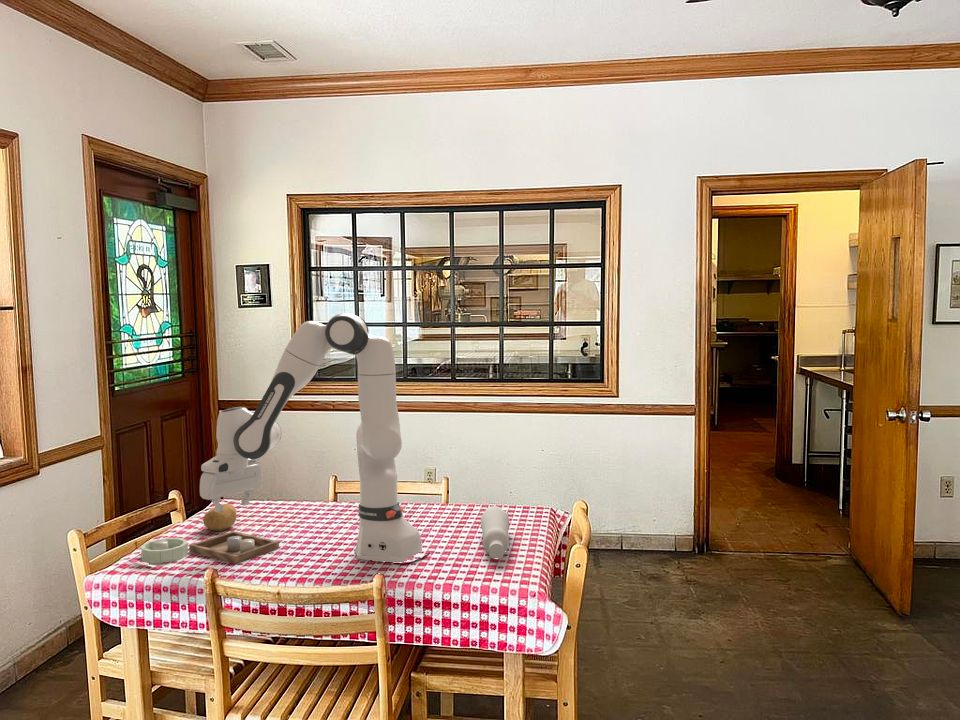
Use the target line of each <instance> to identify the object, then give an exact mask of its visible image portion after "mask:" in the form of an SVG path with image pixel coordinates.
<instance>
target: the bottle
mask: <svg viewBox="0 0 960 720" xmlns="http://www.w3.org/2000/svg"><path fill="white" fill-rule="evenodd" d="M509 518H510V517H509V515H508V513H507V511H505V510H504V509H502V508H501V507H499V506H498V505H497V506H496V505H495V506H489V507H487V508H486V509H485V511H484V512H482V515H481V517H480V528H481V532H482V548H483V551H485V552H486V551H487V552H489V554H488V555H489V557H490V558H491V559H493V558H500V559H501V558H503V557H504V555H505V553H506V552H508V550H509V548H510V538H509V528H510V519H509ZM505 551H506V552H505ZM487 552H486V553H487Z"/></svg>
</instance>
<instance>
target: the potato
mask: <svg viewBox="0 0 960 720" xmlns="http://www.w3.org/2000/svg"><path fill="white" fill-rule="evenodd" d="M221 505H222V506H223V511H222V512H219V513H218V512H215V506H214V507H213V508H211V509H209V510H208V511H207V512H206V513H205V514H204V516H203V518H202V522H203V525H204V526H205V528H207V529H208V530H211V531H212V532H221V531H225V530H228V529H229V528H231V527H233V525H234V524H235V522H236V520H237V517H238V514H237V509H236V506H234V505H233V504H231V503H221Z"/></svg>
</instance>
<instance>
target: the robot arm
mask: <svg viewBox="0 0 960 720" xmlns="http://www.w3.org/2000/svg"><path fill="white" fill-rule="evenodd" d="M369 331H370V330H369V325H368V324H367V323H366V321H365V320H364V319H363V318H362V317H360V316H358V315H356V314H354V313H351V312H344V313H338V314H336V315H334V316H332V317H331V318H330V319H329V320H328V322H327V323H326V324H323V323H321V322H318V321H315V320H307V321H305V322H303V323H302V324H300V325H299V327H298V328H297V330H296V331H295V332H294V333H293V335H292V337H290V338H291V339H290V340H289V342H288V343H287V345H286V347H285V348H284V350H283V353H282V355H281V356H280V359H279V362H278V363H277V367H276V369H275V371H274V373H273V376H272V378H271V381H270V383H269V386H268V387H267V389H266V391H265V393H264V394H263V396H262V398H261V399H260V402H259V404H258V405H257V406H256V408H255V410H254V412H251V411H250V410H249V409H248V408H247V407H244V406H236V407H234V406H233V407H230V408H226V409H223V410H221V411H220V412H219V414H218V416H217V420H216V441H217V448H216V455H215V456H213V457H212V458H210V459H209V460H207V461H205V462H204V463H202V464H201V466H200V469H201V472H202V473H201V475H200V479H199V496H200V497H201V498H202V499H203V500H207V501H209V500H210V501H211V503H212V504H213V505H214V507H215V512H218V513H219V512H222V511H223V506H222V504H220V502H221V498H223V497H227V496H232V495H236V494H238V493H244V496H243V498H241V499H240V500H241V501H240V502H241V503H240V504H241V506H248V505H249V504H250V499H251V497H252V494H253V490H255V489H259V488H261V487H262V485H263V472H262V468H261V467H262V466H261V461H260V459H261V458H262V457H263V456H264V455H265V454H267V452H268V451H270V450H272V449H273V448H274V447H276V446H277V445H278V444H279V443H280V440H281V439H282V429H281V426H280V425H279V423H278V422H277V419H278V418H279V416H280V414H281V413H282V410H283V409H284V407H285V406H286V404H287V403H288V401H289V400H290V399H291V398H292V397H293V396H294V395H295V394H296V393H297V392H299V391H300V390H302V389H303V388H304V387H306V386H307V385H308V384H309V383H310V382H311V380H312V379H313V378H314V376H315V375H316V373H317V371H319V368H320V366H321V364H322V363H323V360H324V358H325V357H326V355H327V353H328V352H329V351H331V350H332V349H335V350H337V351H338V352H342V353H347V354H349V355H350V354H351V355H353V356H355V357H356V361H357V390H358V391H357V392H358V393H357V394H358V397H357V399H358V407H359V413H360V424H359V426H357V429H356V435H355V437H356V438H355V439H356V450H357V453H356V454H357V455H356V456H357V464H358V465H357V466H358V473H359V504H358V517H359V526H358V534H357V541H356V545H355V549H354V553H355V554H356V559H357V560H362V561H363V560H364V561H370V560H372V561H373V562H378V561H385V562H404V561H407V560H406V558H411V557H412V556H413V555H416V554H418V553H419V552H421V551H422V546H423V545H422V544H423V543H422V538H421V533H420V532H419V530H418V529H417V528H415V526H413V525H412V524H411V523H410V522H409V521H408V520H407V519H406V518H405V517H404V516H403V512H404V511H406V509H405V508H406V506H402V507H401V505H400V503H399V501H398V473H397V469H396V463H395V461H396V460H395V458H397V456H398V455H399V453H401V450H402V446H403V442H402V436H401V435H402V434H401V424H400V417H399V410H398V403H397V377H396V376H397V375H396V373H397V371H396V360H395V354H394V350H393V348H394V347H393V345H392V342H391V341H390V340H389V339H388V338H387V337H384V336H381V335H372V334H370V333H369ZM259 458H260V459H259ZM413 558H414V557H413ZM413 558H411V559H413ZM411 559H410V560H411ZM372 561H371V562H372ZM385 562H384V563H385Z"/></svg>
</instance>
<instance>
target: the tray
mask: <svg viewBox="0 0 960 720" xmlns="http://www.w3.org/2000/svg"><path fill="white" fill-rule="evenodd" d="M231 536H241V537H242V540H244V539H254V549H251V550H248V551H246V552H243V553H240V551H238V552H228V551H227V538H228V537H231ZM278 549H280V541H278V540H274V539H270V538H265V537H260V536H257V535H252V534H247V533H243V532H238V531H234V530H233V531H230V532H226V533H224V534H221V535H220V534H219V535H218V536H214V537H211V538H208V539H204V540H201V541H198V542H194V543H191V544H189V546H188V553H192V554H196V555H199V556H202V557H203V556H204V557H208V558H212V559H215V560H218V561H219V560H220V561H223V562H227V563H230V564H234V565H237V564H240V563H242V562H245V561H247V560H251V559H253V558H256V557H258V556H261V555H264V554H267V553H270V552H272V551H275V550H278Z"/></svg>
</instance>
